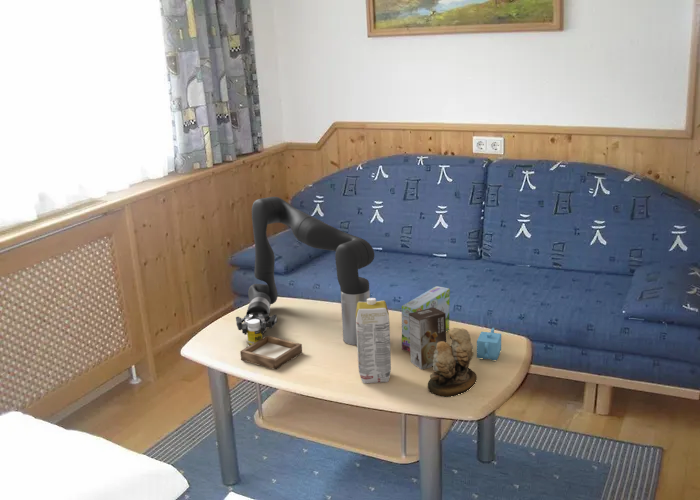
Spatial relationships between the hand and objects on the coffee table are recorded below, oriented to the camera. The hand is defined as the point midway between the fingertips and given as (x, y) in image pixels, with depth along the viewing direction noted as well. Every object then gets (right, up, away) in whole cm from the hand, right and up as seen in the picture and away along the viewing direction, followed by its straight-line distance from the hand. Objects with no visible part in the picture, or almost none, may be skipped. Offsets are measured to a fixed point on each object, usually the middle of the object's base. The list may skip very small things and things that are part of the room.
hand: (253, 331), depth 231 cm
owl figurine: (+60, -12, -26) cm, 66 cm away
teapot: (+73, -6, -11) cm, 74 cm away
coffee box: (+54, -8, -13) cm, 56 cm away
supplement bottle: (0, -5, +4) cm, 7 cm away
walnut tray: (+6, -7, -4) cm, 11 cm away
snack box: (+55, -3, +2) cm, 55 cm away
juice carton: (+38, -11, -21) cm, 45 cm away
